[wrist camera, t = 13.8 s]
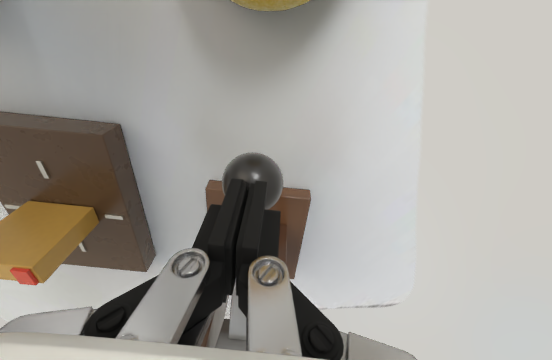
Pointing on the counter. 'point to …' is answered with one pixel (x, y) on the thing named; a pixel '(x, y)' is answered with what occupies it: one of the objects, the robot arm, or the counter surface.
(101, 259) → the plate
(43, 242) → the lock knob
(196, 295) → the robot arm
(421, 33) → the counter surface
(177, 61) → the counter surface
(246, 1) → the bread roll
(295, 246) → the handle bracket
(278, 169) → the door lever
